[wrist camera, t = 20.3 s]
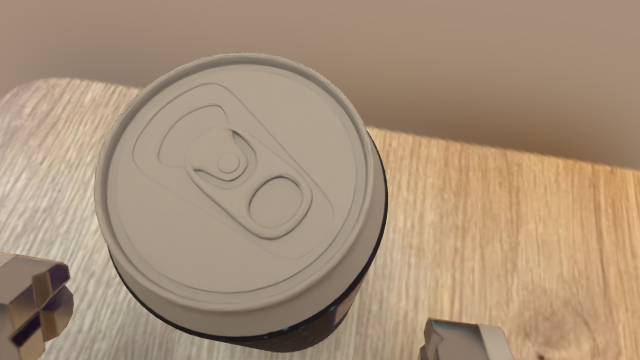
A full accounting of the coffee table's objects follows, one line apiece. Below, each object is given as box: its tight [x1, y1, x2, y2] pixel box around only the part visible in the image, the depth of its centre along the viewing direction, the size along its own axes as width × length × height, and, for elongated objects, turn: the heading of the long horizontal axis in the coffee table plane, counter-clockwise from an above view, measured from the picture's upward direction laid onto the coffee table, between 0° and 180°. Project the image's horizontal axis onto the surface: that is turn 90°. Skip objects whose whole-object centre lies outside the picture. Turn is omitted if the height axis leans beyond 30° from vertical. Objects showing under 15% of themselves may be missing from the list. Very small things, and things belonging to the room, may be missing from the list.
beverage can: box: [94, 52, 388, 353], centre depth 13 cm, size 6×6×12 cm
